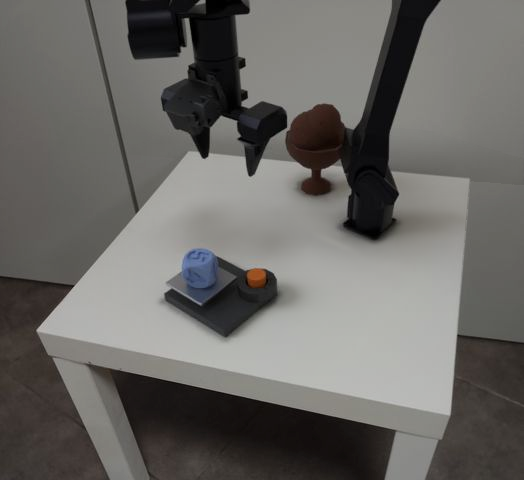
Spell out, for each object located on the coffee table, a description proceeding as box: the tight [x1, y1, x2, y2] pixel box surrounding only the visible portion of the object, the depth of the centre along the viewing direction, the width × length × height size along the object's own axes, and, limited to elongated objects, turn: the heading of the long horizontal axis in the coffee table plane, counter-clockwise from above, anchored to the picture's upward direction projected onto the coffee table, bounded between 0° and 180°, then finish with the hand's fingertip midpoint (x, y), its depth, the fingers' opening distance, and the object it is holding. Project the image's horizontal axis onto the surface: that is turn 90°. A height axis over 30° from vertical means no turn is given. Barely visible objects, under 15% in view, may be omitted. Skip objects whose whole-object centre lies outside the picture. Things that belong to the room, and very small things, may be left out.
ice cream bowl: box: [284, 103, 346, 197], centre depth 92 cm, size 11×11×15 cm
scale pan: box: [165, 267, 237, 306], centre depth 77 cm, size 7×7×1 cm
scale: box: [163, 255, 278, 338], centre depth 78 cm, size 13×12×3 cm
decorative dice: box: [181, 247, 218, 288], centre depth 75 cm, size 4×4×4 cm
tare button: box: [247, 267, 266, 288], centre depth 76 cm, size 3×3×2 cm
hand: (227, 166), depth 81 cm, fingers open, 9 cm apart
